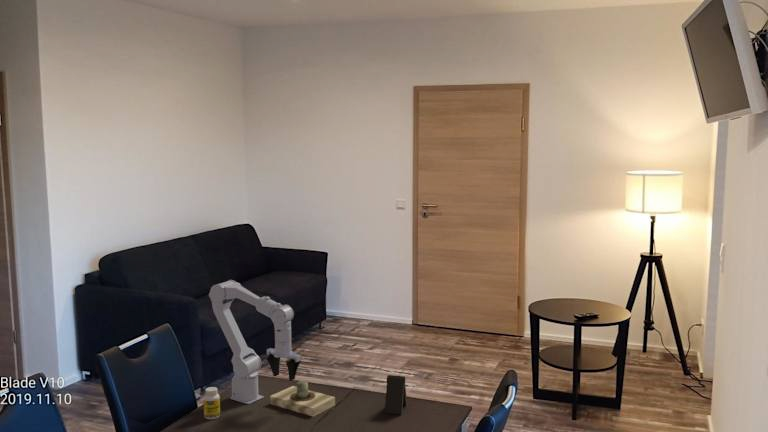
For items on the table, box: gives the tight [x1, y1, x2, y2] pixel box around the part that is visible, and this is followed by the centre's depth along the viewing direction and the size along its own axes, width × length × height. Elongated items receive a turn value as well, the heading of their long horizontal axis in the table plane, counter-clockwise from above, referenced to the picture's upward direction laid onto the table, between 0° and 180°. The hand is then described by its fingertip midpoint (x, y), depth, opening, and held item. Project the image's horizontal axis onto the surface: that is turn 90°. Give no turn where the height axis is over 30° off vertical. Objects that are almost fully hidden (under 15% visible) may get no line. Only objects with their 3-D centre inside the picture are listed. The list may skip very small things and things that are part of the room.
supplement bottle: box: [203, 386, 221, 420], centre depth 228 cm, size 5×5×10 cm
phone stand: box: [384, 374, 408, 416], centre depth 234 cm, size 9×6×12 cm, turn 165°
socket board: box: [269, 385, 336, 418], centre depth 239 cm, size 20×12×3 cm, turn 56°
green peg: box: [296, 380, 309, 399], centre depth 238 cm, size 4×4×8 cm
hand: (284, 377), depth 237 cm, fingers open, 7 cm apart
